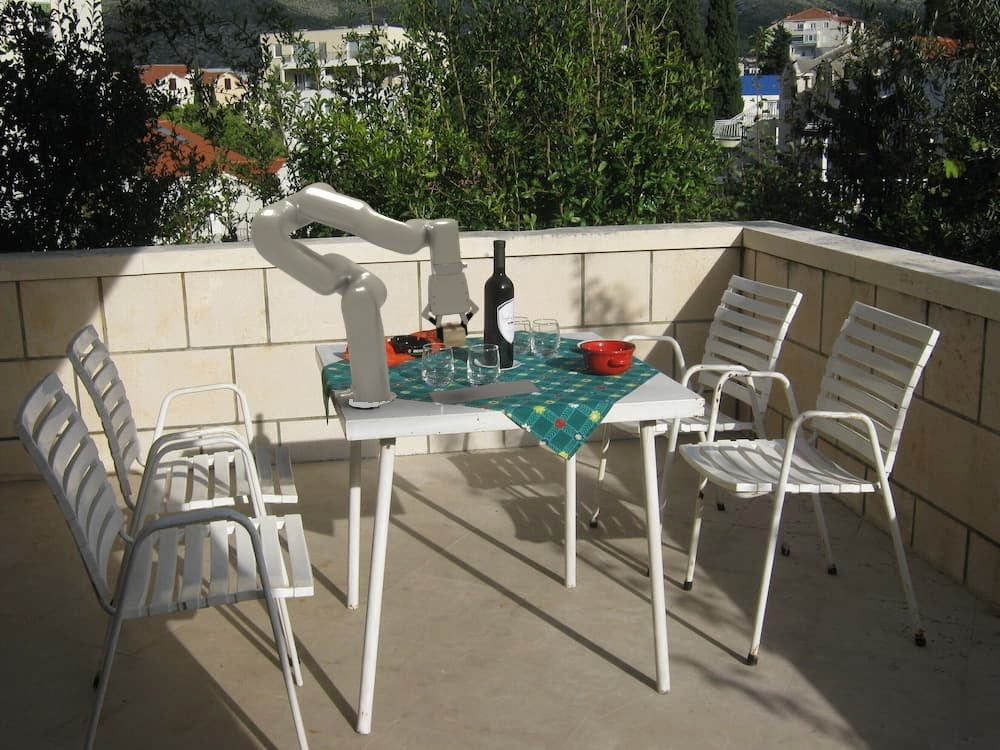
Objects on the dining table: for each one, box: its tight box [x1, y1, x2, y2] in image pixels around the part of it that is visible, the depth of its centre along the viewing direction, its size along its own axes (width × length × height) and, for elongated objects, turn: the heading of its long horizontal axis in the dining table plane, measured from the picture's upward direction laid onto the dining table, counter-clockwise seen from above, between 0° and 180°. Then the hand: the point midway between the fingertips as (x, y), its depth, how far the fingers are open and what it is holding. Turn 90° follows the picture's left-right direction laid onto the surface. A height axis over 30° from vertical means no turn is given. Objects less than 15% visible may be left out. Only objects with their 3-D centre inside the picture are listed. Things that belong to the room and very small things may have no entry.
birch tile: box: [441, 321, 467, 349], centre depth 271 cm, size 10×5×4 cm, turn 13°
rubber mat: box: [428, 378, 542, 405], centre depth 276 cm, size 27×12×1 cm, turn 103°
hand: (452, 339), depth 271 cm, fingers closed on birch tile, 5 cm apart
